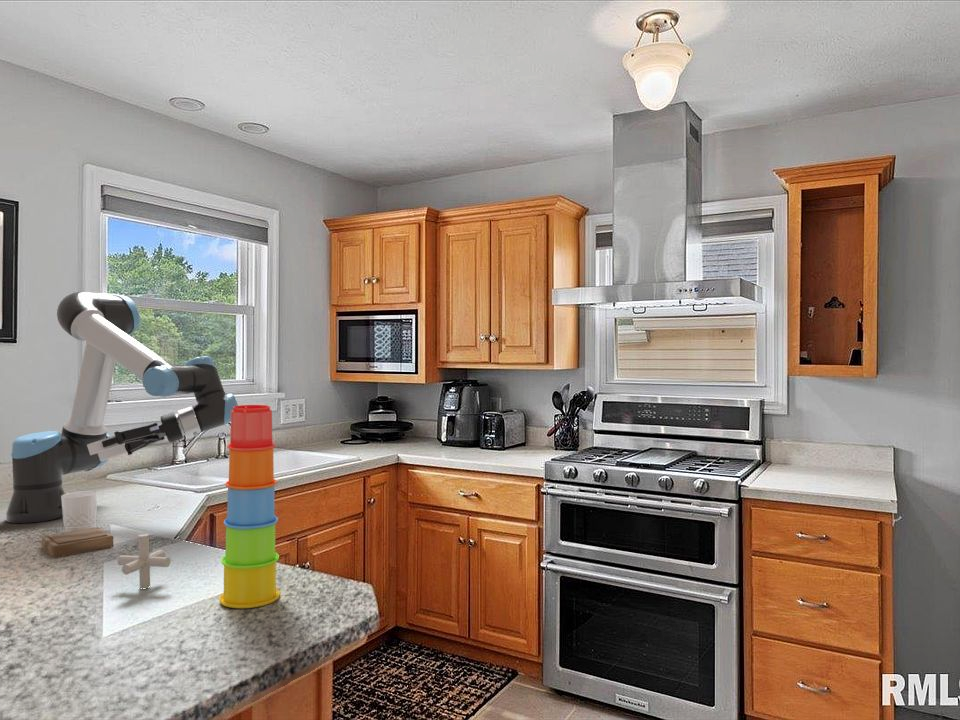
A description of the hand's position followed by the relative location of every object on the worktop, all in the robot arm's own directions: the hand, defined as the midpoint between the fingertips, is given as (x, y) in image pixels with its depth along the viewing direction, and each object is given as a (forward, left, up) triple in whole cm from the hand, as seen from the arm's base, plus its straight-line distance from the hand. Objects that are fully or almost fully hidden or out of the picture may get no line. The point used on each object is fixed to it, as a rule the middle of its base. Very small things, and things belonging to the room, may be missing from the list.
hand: (93, 453), depth 179 cm
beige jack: (+58, -7, -20) cm, 61 cm away
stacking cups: (+79, +4, -20) cm, 81 cm away
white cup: (+1, -4, -20) cm, 20 cm away
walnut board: (+15, -8, -20) cm, 26 cm away
